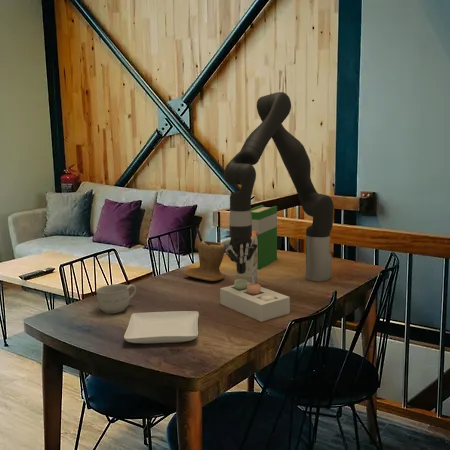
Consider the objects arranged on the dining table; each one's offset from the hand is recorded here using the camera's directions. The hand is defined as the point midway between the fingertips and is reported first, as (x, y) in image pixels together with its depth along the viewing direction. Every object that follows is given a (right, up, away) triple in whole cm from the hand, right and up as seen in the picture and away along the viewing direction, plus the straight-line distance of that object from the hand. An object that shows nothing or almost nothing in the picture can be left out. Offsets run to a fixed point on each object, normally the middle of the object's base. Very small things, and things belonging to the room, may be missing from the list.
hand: (241, 273), depth 195 cm
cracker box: (+3, -8, +17) cm, 19 cm away
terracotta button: (+4, -6, -4) cm, 9 cm away
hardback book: (+10, 0, +52) cm, 53 cm away
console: (+4, -11, -3) cm, 13 cm away
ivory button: (+8, -9, -9) cm, 16 cm away
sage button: (0, -5, +1) cm, 5 cm away
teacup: (-41, -12, -2) cm, 43 cm away
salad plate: (-24, -17, -22) cm, 37 cm away
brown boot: (-13, -5, +32) cm, 35 cm away
